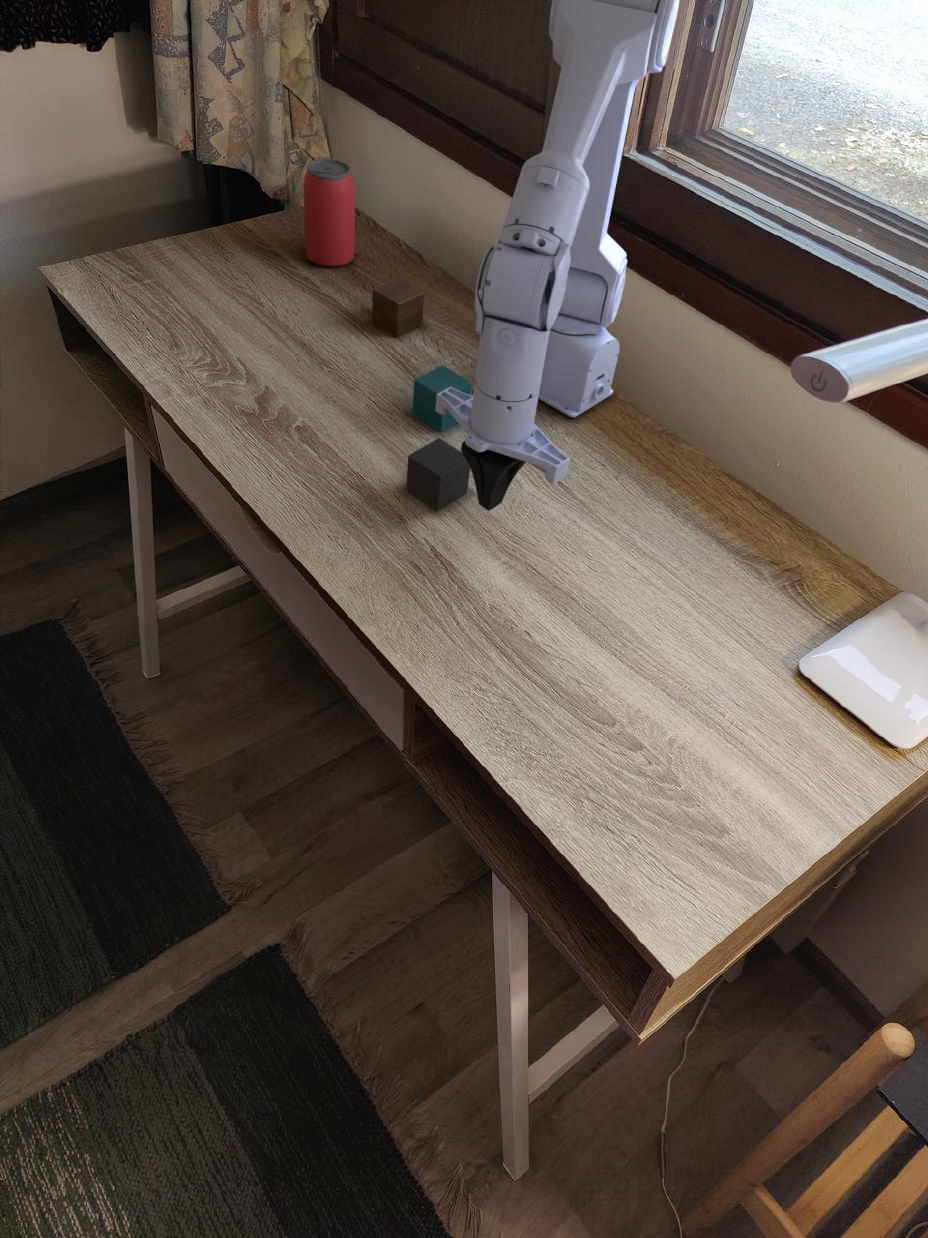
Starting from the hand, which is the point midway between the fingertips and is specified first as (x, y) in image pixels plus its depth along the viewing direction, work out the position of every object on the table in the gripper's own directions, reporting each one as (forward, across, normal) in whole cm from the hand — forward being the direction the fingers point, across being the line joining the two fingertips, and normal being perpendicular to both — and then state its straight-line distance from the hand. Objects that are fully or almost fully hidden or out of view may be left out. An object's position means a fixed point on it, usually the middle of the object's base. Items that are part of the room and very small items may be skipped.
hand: (490, 503), depth 93 cm
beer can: (+3, -51, +25) cm, 57 cm away
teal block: (+3, -16, +10) cm, 19 cm away
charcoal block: (+3, -7, 0) cm, 8 cm away
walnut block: (+3, -33, +20) cm, 39 cm away
